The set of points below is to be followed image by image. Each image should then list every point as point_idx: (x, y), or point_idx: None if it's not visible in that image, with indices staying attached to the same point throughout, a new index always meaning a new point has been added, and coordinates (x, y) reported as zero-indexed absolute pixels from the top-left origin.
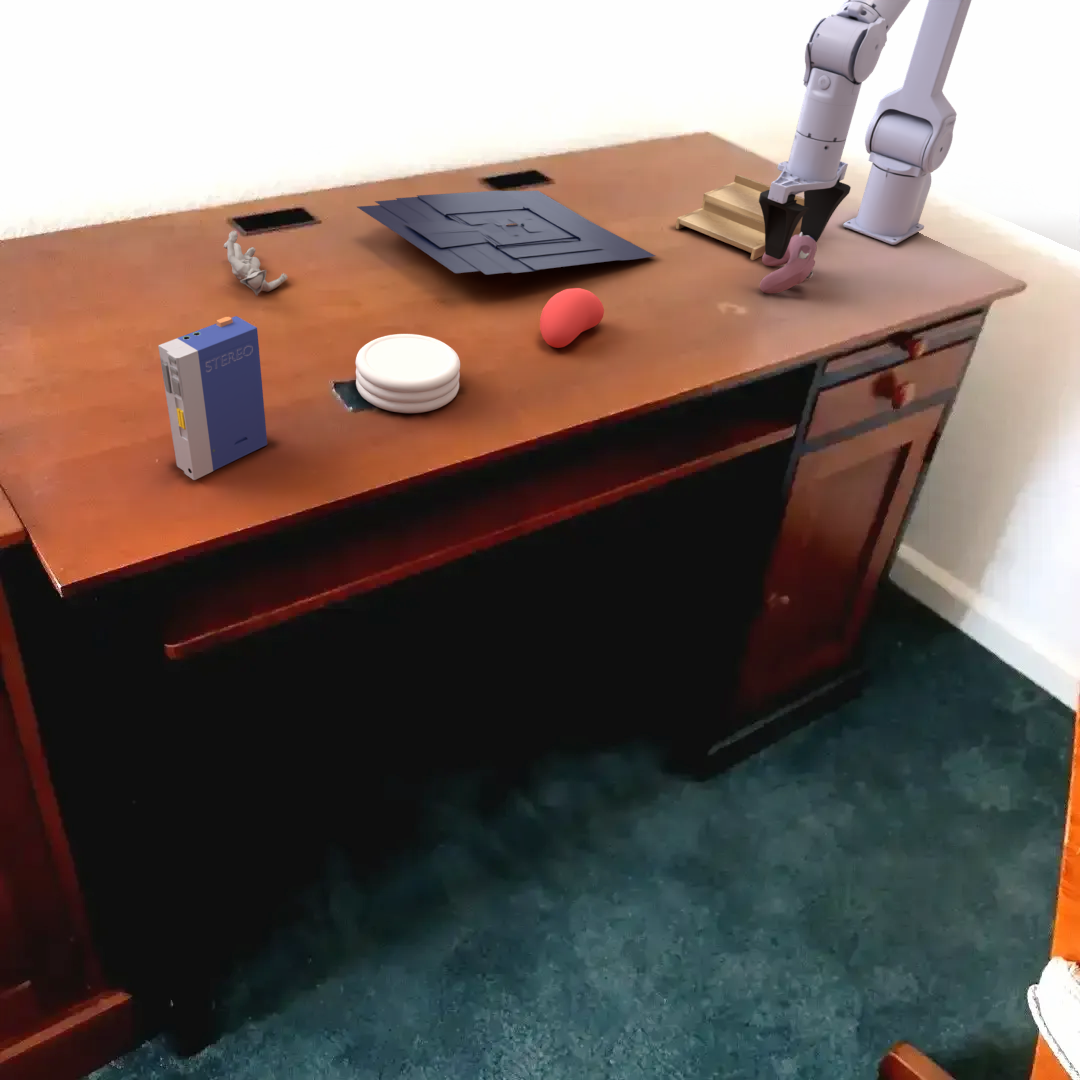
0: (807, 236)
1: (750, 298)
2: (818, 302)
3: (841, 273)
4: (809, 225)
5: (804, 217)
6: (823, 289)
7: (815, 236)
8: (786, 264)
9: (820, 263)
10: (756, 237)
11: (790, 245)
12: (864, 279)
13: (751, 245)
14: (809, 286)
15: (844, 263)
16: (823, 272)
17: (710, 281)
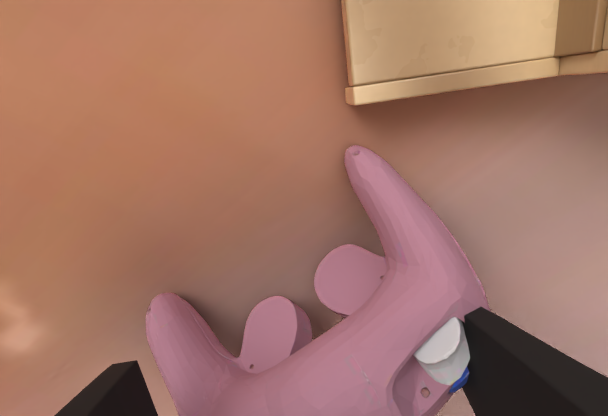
0: (450, 371)
1: (105, 301)
2: None
3: (522, 322)
4: (504, 398)
5: (536, 388)
6: None
7: (473, 401)
8: (363, 254)
9: (540, 246)
10: (478, 3)
11: (306, 365)
12: None
13: (372, 62)
14: None
15: (605, 284)
16: None
17: (44, 148)
